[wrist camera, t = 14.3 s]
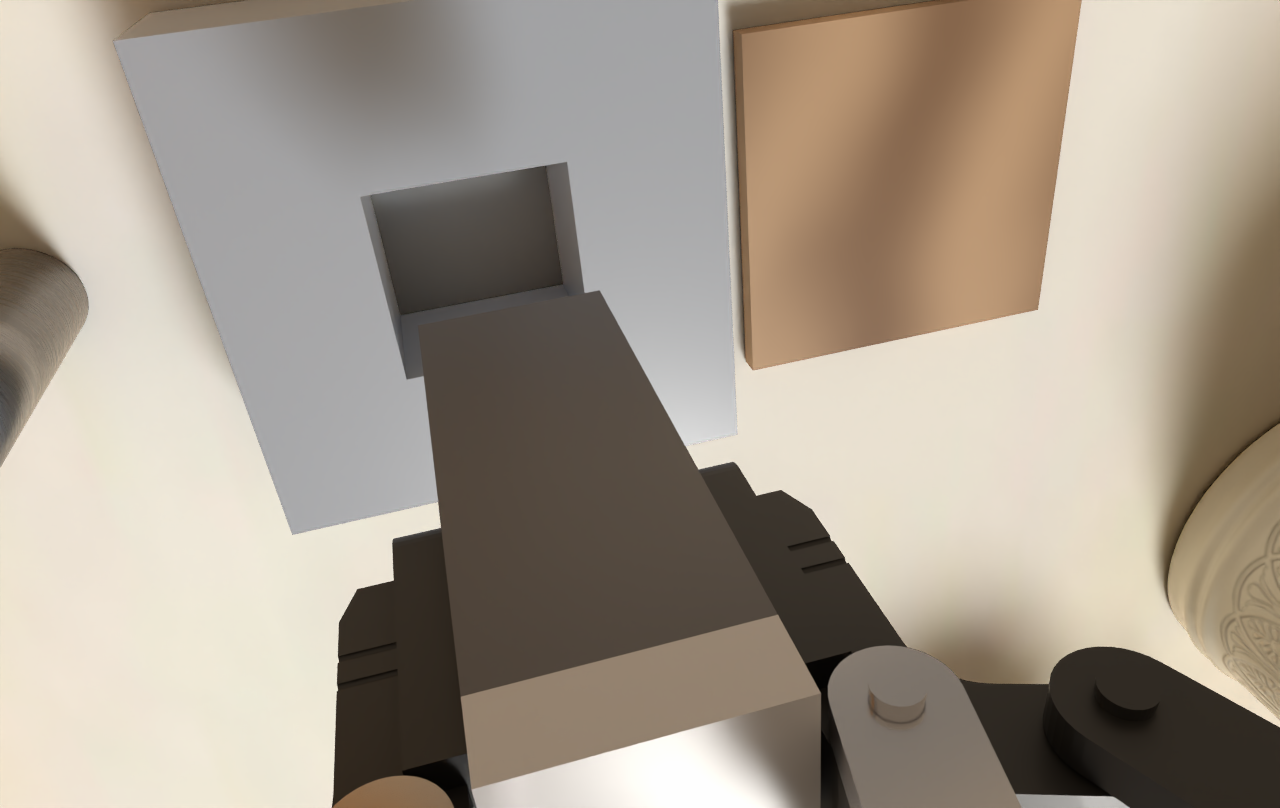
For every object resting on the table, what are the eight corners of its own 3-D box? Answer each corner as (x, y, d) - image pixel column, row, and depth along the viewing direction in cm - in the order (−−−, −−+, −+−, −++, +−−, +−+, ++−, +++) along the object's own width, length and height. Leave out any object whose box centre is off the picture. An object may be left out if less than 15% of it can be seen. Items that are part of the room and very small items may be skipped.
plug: (600, 290, 16) (821, 693, 8) (619, 440, 17) (819, 897, 10) (417, 325, 15) (471, 789, 8) (454, 477, 17) (530, 988, 9)
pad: (1068, -20, 24) (1083, -17, 23) (1025, 301, 29) (1037, 309, 28) (733, 30, 22) (741, 34, 22) (745, 360, 27) (753, 370, 27)
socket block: (666, -55, 21) (716, -41, 18) (695, 371, 27) (737, 434, 24) (149, 13, 19) (112, 40, 16) (300, 455, 25) (292, 534, 22)
